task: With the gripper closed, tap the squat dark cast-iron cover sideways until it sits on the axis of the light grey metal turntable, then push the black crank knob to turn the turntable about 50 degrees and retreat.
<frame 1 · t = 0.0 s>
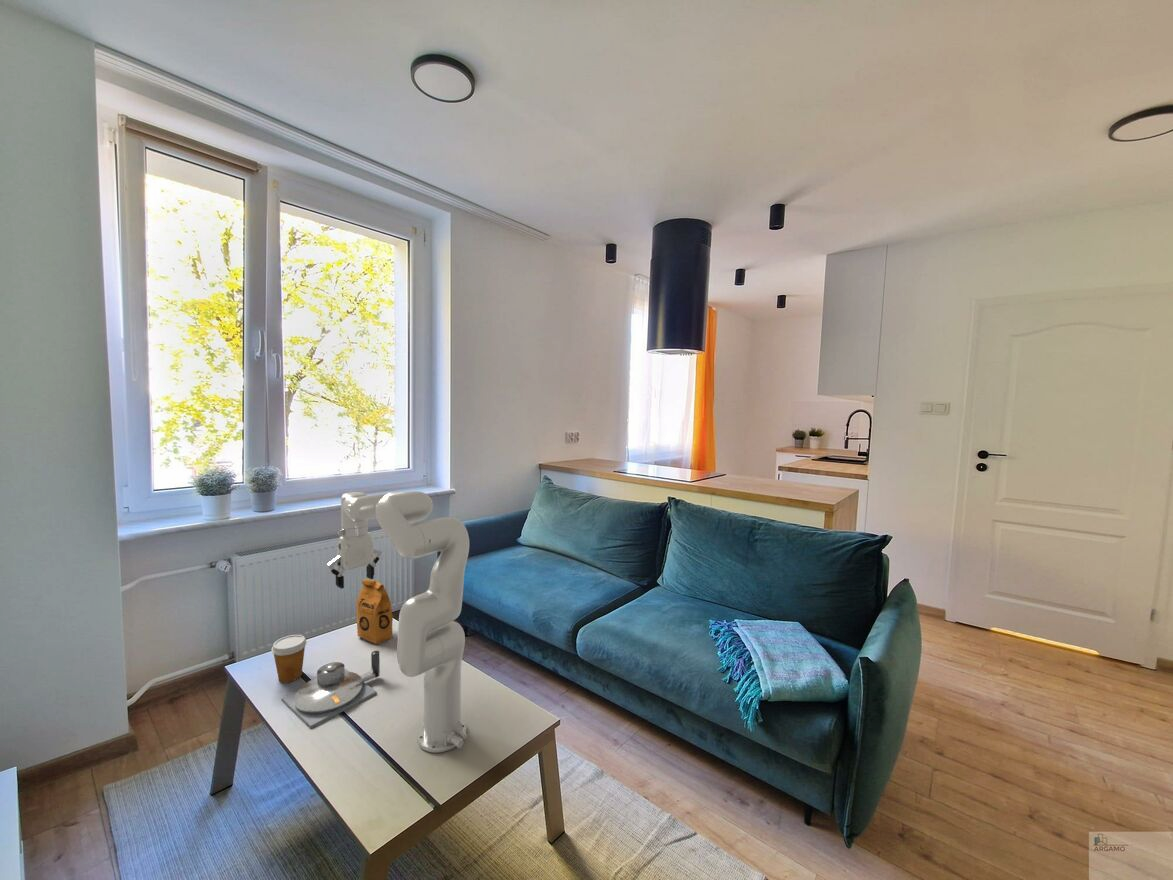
hand: (355, 582, 149), 31 cm above the table, fingers open, 9 cm apart
disposable coffee cup: (290, 677, 149), on the table
coffee package: (375, 637, 174), on the table
cover: (331, 679, 144), point 3 cm above the table, touching turntable
plinth: (329, 697, 140), on the table
turntable: (339, 677, 141), point 5 cm above the table, hinge at 0.0°, touching cover
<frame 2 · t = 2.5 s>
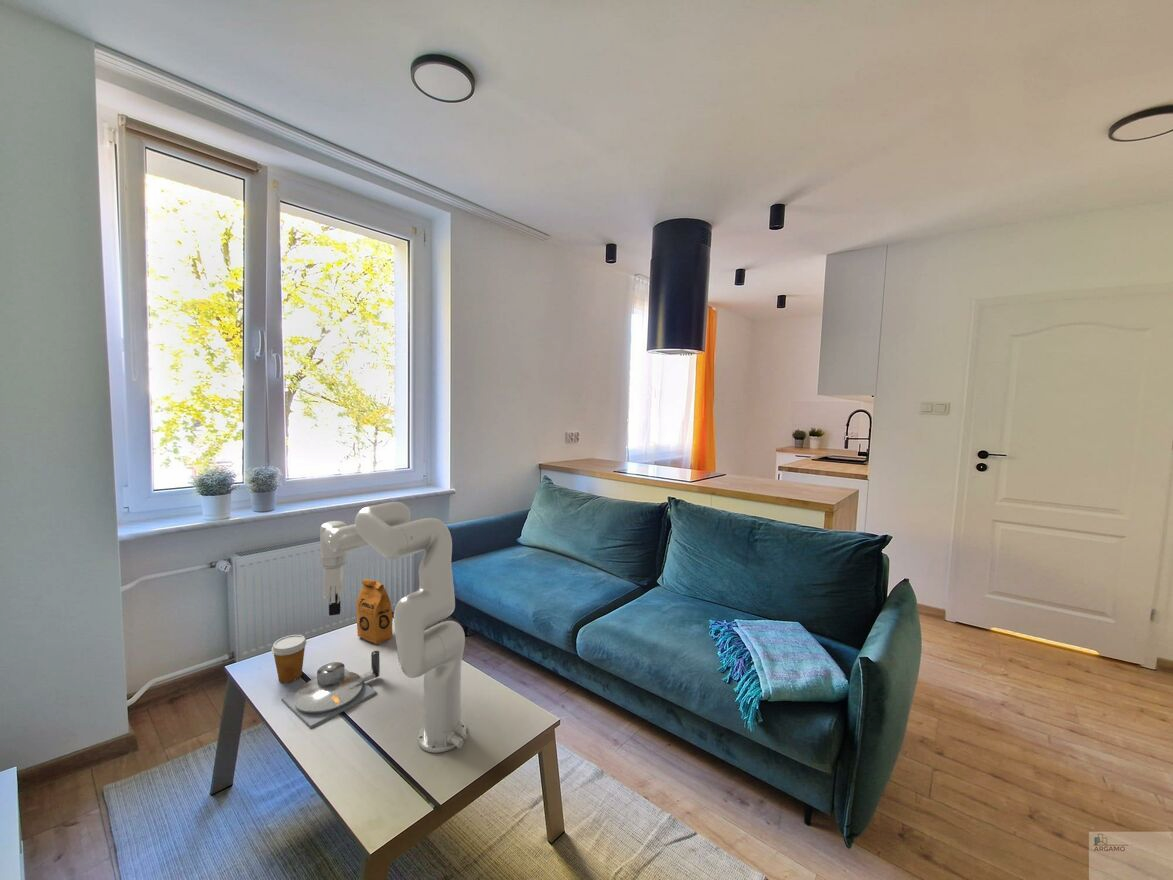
hand: (334, 613, 151), 20 cm above the table, fingers closed
nothing on the table moved.
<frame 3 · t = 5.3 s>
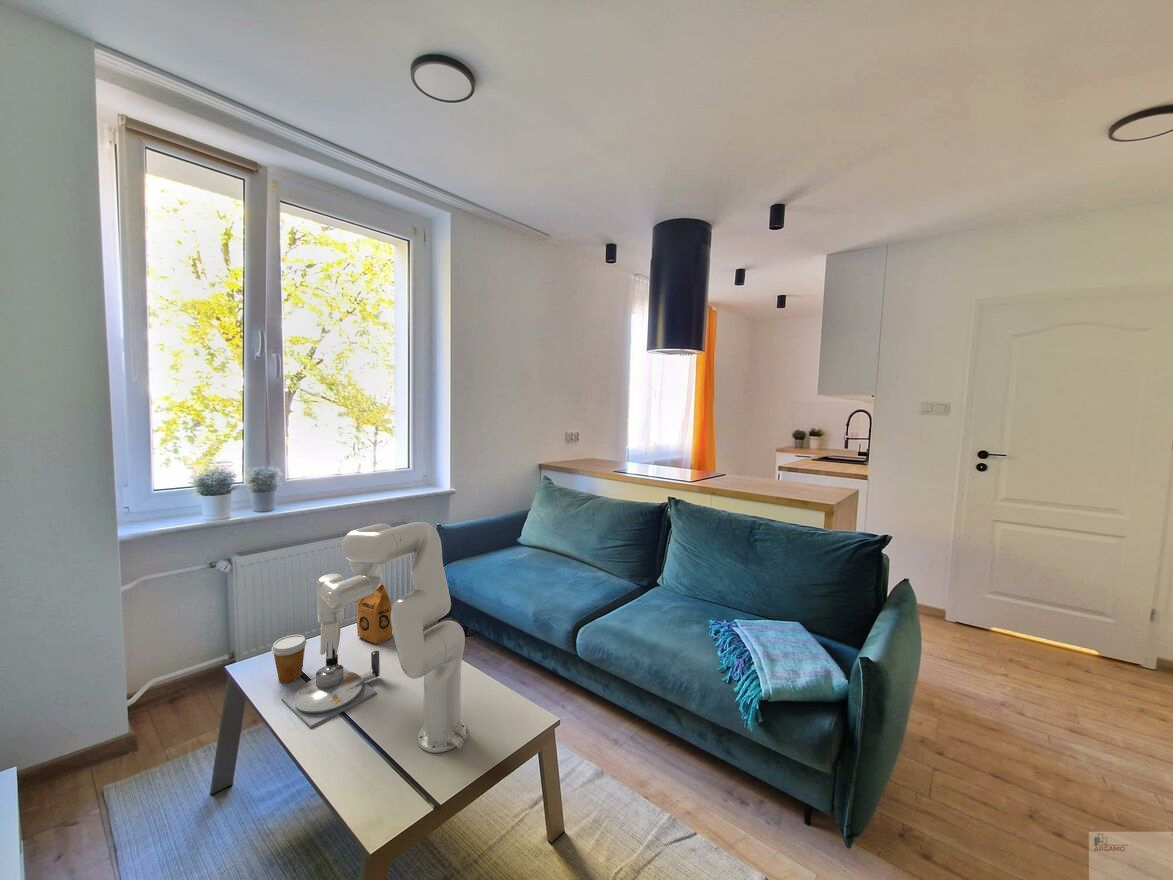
hand: (332, 668, 148), 4 cm above the table, fingers closed
cover: (330, 681, 143), point 3 cm above the table, touching gripper
turntable: (339, 677, 141), point 5 cm above the table, hinge at 0.2°
everything else where it was.
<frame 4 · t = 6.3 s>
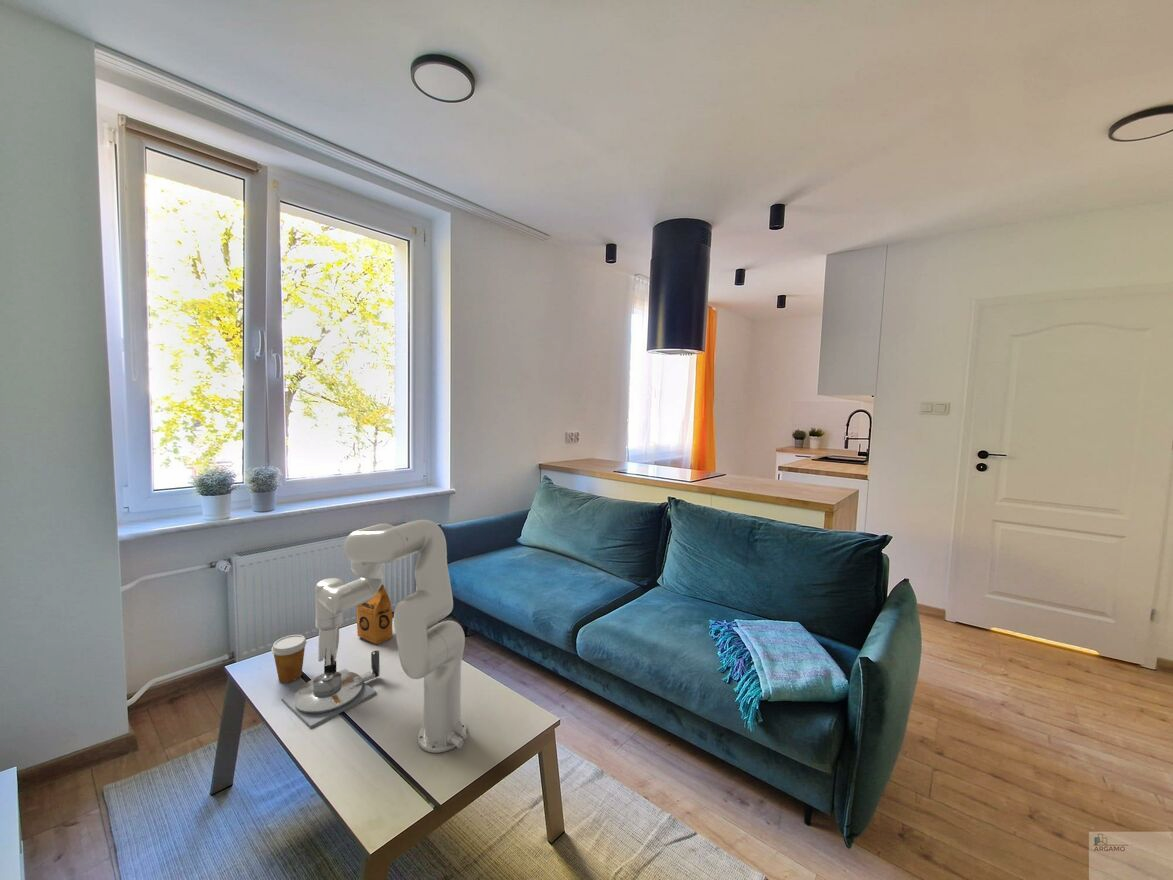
hand: (330, 674, 144), 4 cm above the table, fingers closed
cover: (327, 689, 139), point 3 cm above the table, touching turntable
turntable: (339, 677, 141), point 5 cm above the table, hinge at 0.3°, touching cover
everything else where it was.
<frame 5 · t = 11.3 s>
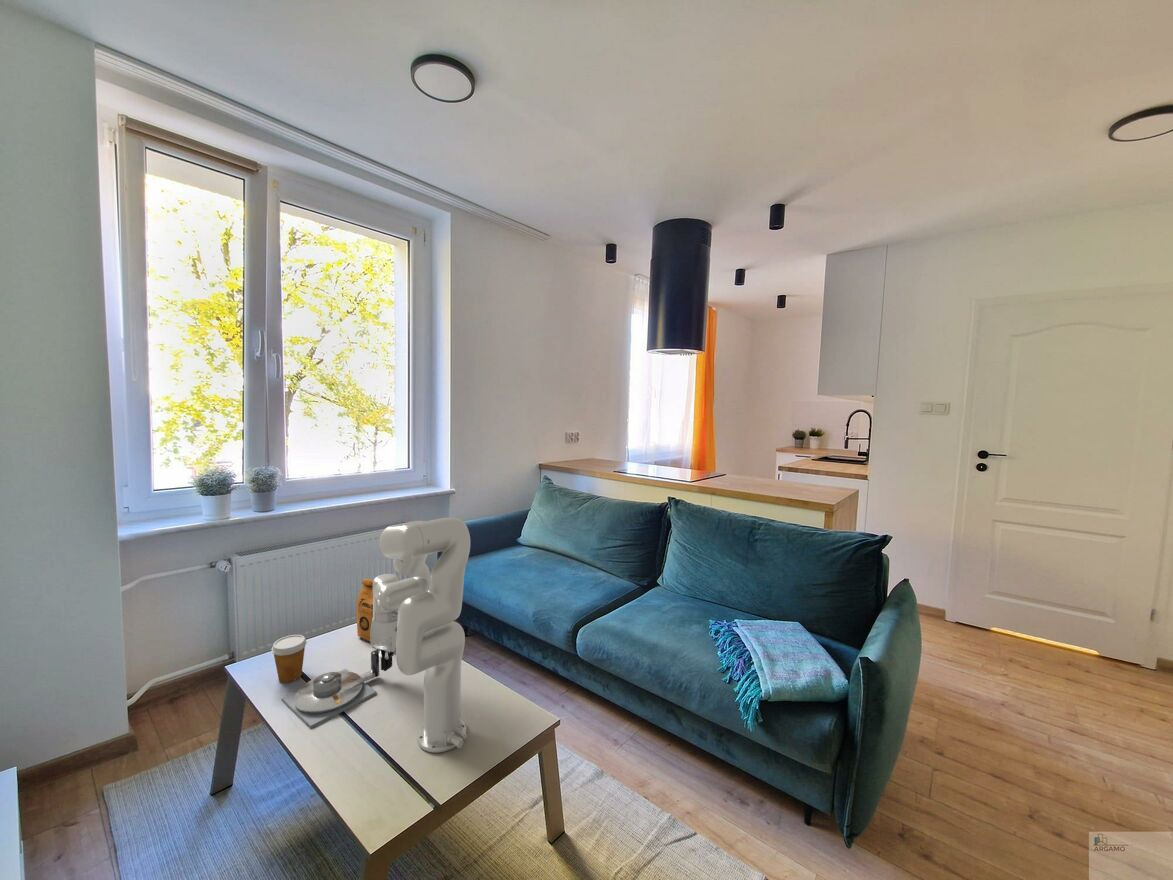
hand: (386, 668, 148), 4 cm above the table, fingers closed
turntable: (339, 677, 141), point 5 cm above the table, hinge at 1.3°, touching cover, gripper
everything else where it was.
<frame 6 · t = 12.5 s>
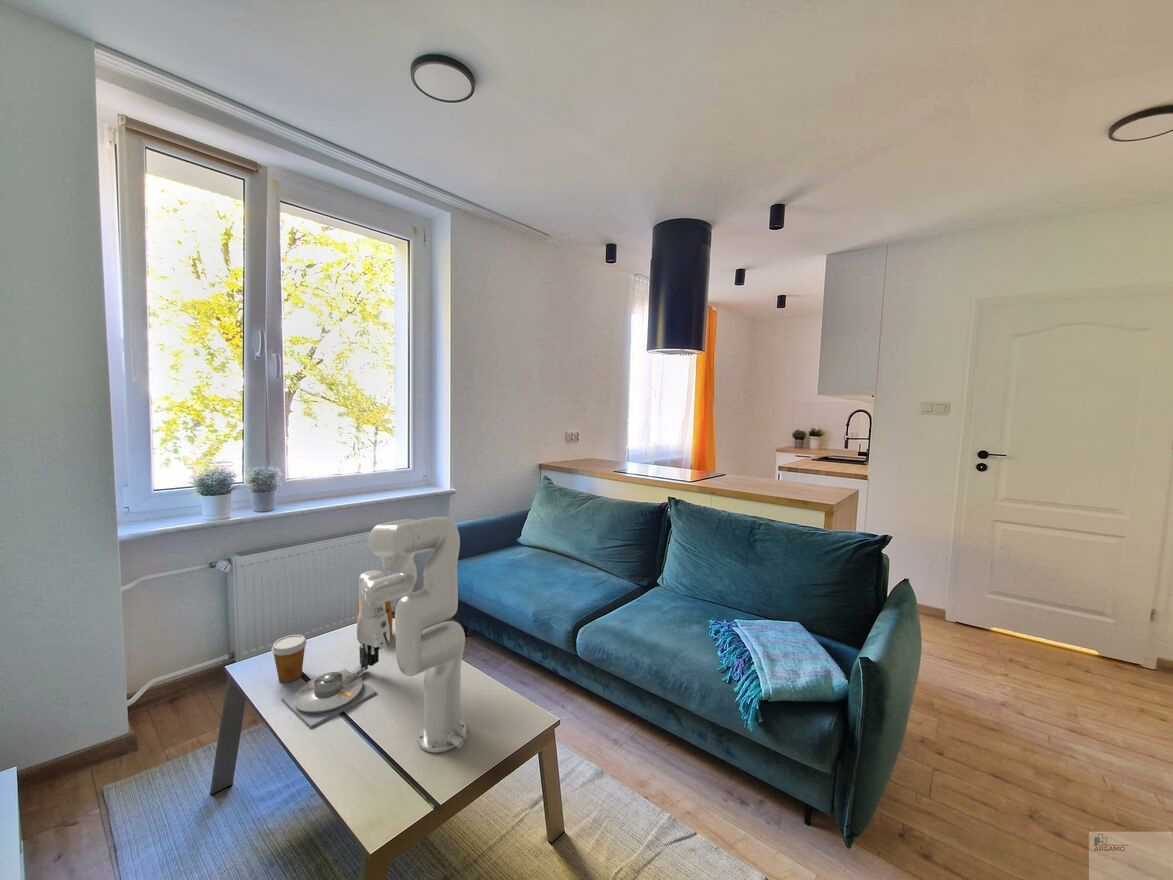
hand: (373, 663, 151), 4 cm above the table, fingers closed
turntable: (337, 675, 142), point 5 cm above the table, hinge at 27.8°, touching cover, gripper
everything else where it was.
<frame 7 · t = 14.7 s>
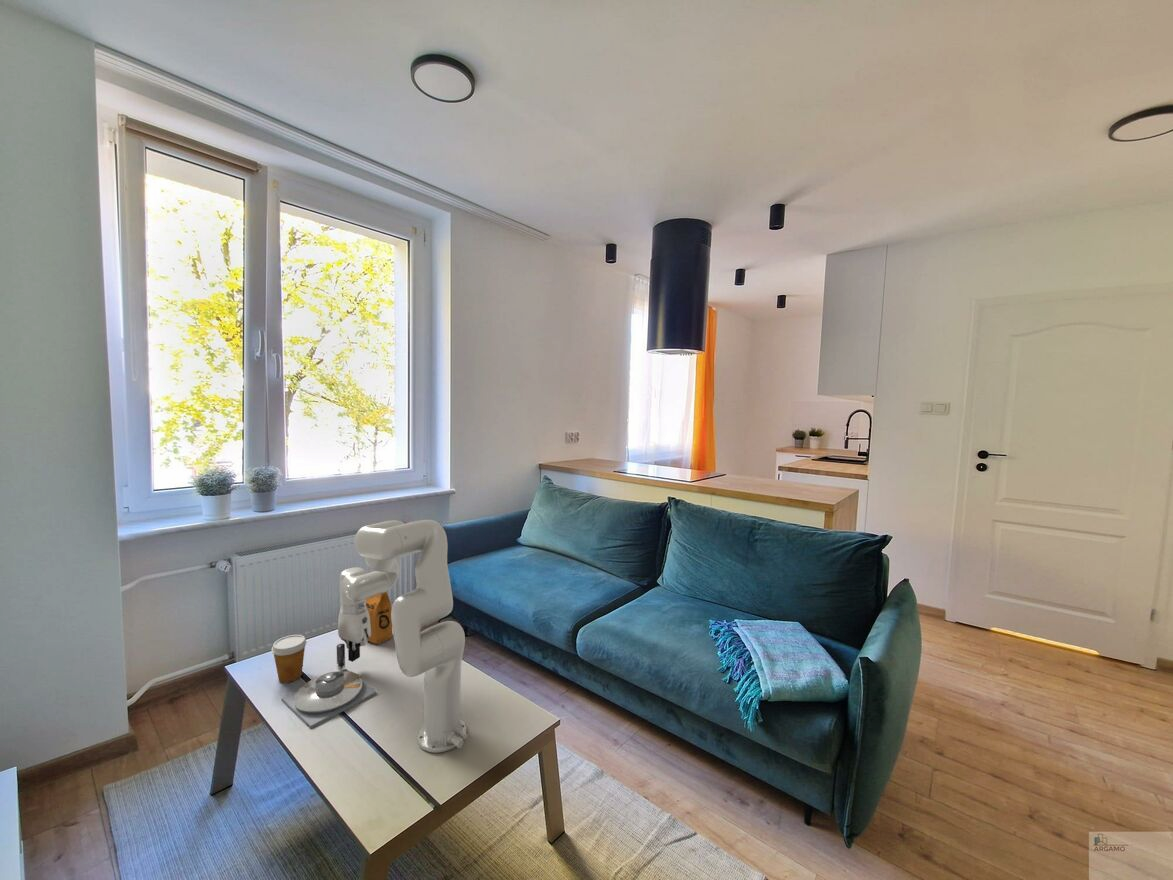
hand: (354, 658, 153), 4 cm above the table, fingers closed
turntable: (332, 675, 142), point 5 cm above the table, hinge at 60.7°, touching cover
everything else where it was.
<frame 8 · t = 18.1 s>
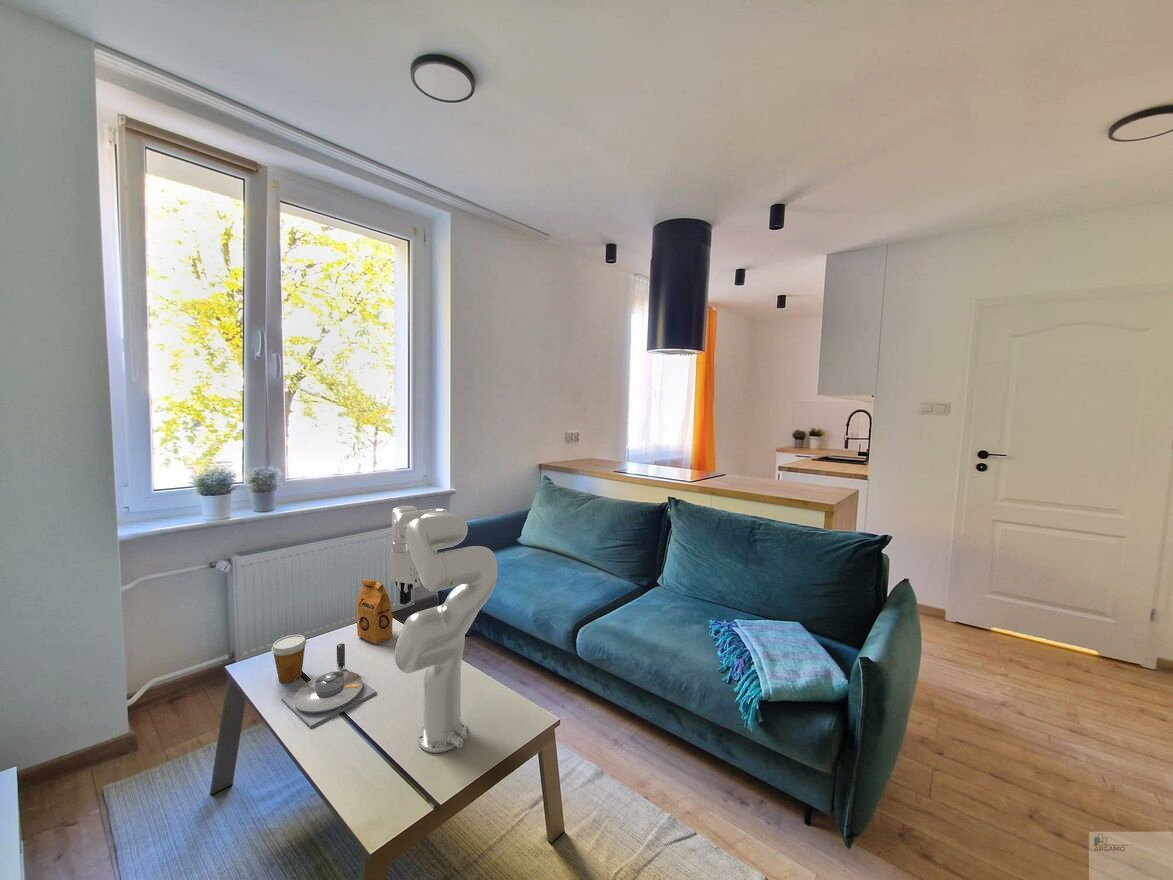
hand: (405, 602, 145), 27 cm above the table, fingers closed
nothing on the table moved.
at the end: cover 0.7 cm from the turntable (horizontally); turntable at +61° (first picture: +0°); cover tilted 0° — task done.
